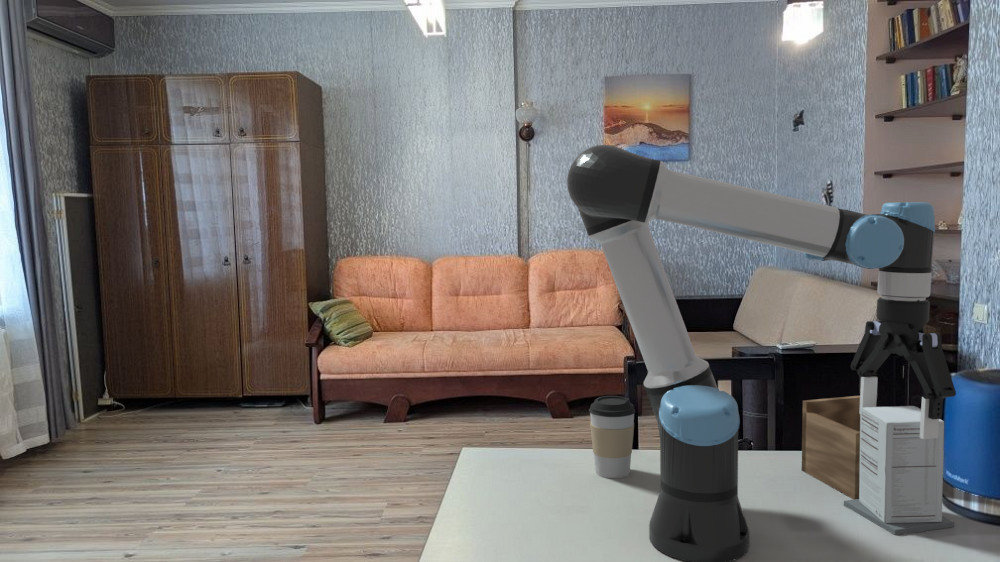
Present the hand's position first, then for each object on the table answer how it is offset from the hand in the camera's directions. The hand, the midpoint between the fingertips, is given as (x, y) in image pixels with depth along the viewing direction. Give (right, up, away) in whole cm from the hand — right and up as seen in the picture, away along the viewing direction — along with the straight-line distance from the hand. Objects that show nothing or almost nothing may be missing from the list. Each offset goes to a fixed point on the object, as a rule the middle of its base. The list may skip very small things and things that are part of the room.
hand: (896, 425), depth 120 cm
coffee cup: (-43, -14, +25) cm, 52 cm away
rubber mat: (+1, -15, +1) cm, 15 cm away
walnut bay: (+3, -14, +17) cm, 22 cm away
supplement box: (+1, -15, +1) cm, 15 cm away
